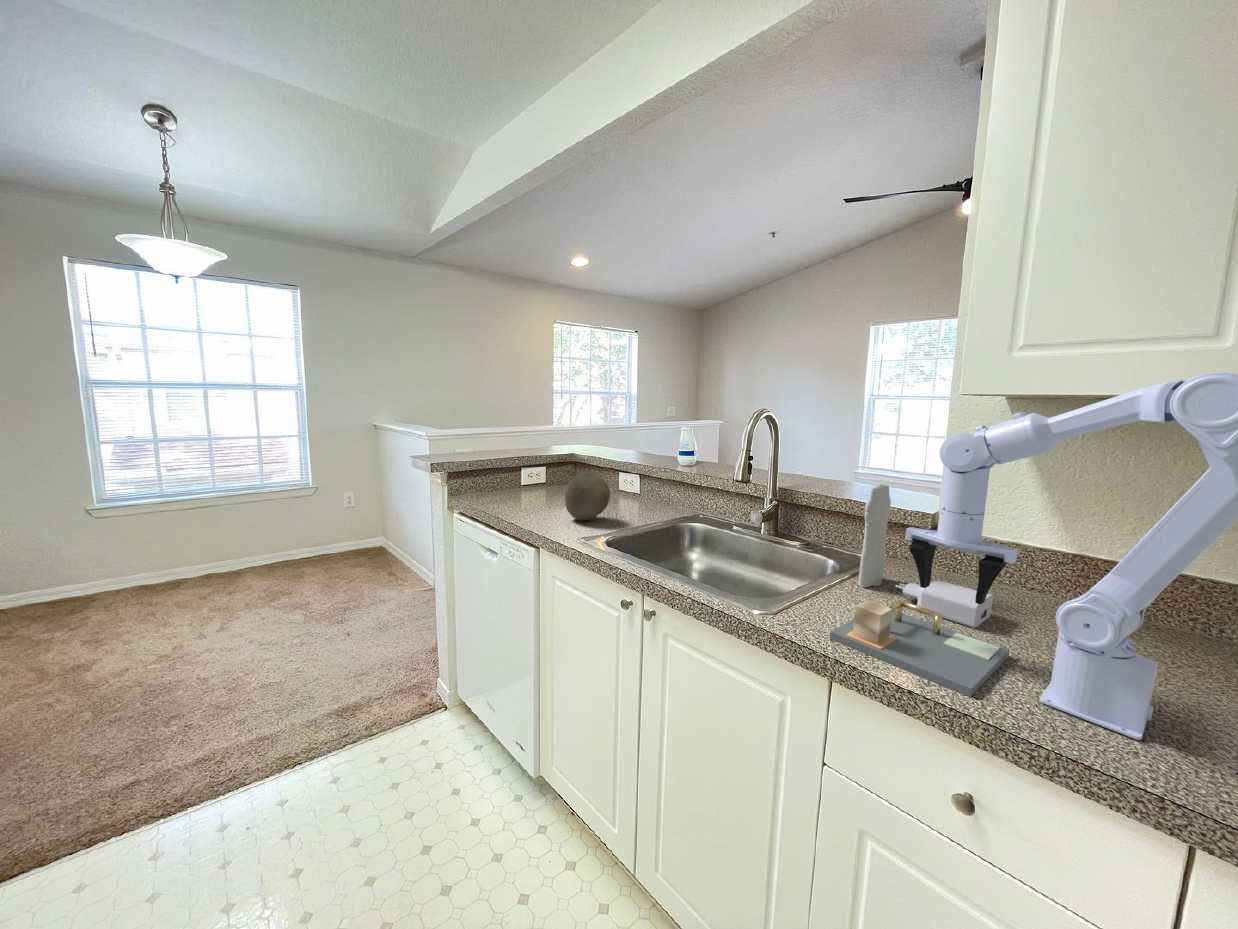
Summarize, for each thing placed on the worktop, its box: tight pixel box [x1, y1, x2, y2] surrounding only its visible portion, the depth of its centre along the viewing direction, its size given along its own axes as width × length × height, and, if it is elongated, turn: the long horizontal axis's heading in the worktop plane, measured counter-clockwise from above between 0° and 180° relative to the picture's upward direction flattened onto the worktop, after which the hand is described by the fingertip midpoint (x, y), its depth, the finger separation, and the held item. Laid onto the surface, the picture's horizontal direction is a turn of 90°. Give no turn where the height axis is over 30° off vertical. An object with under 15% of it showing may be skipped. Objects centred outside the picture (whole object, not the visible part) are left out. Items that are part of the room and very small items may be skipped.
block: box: [853, 600, 892, 645], centre depth 80 cm, size 4×4×5 cm
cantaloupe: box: [564, 472, 611, 522], centre depth 155 cm, size 14×14×15 cm
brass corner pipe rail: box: [886, 599, 943, 636], centre depth 82 cm, size 7×7×4 cm
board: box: [829, 610, 1010, 698], centre depth 80 cm, size 20×18×1 cm
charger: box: [895, 580, 994, 629], centre depth 95 cm, size 5×9×15 cm
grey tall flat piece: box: [857, 483, 892, 589], centre depth 107 cm, size 11×4×22 cm, turn 130°
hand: (951, 594), depth 78 cm, fingers open, 7 cm apart
